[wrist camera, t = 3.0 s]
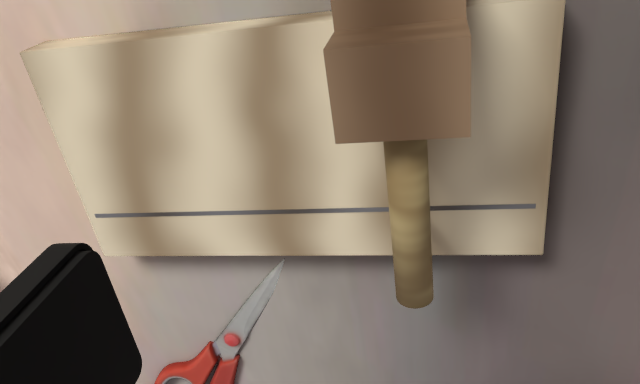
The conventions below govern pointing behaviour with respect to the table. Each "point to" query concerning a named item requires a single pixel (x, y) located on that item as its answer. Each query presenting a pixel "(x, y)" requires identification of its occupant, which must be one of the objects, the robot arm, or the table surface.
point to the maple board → (291, 139)
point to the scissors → (225, 342)
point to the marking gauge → (402, 108)
